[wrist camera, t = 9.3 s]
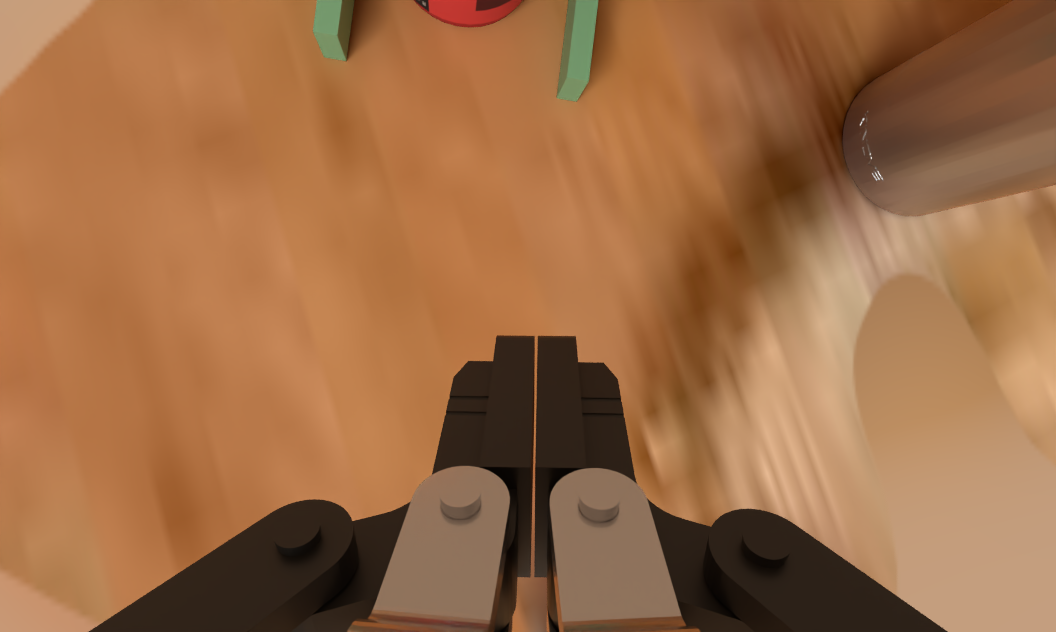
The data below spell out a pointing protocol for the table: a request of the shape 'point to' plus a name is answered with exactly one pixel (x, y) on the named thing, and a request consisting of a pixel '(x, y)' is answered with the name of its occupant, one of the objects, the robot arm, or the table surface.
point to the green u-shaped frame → (576, 52)
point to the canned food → (468, 11)
